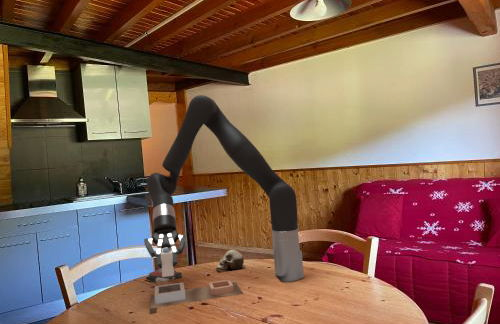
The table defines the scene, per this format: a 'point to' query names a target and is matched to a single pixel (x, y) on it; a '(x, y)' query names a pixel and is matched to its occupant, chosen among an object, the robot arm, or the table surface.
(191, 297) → the panel
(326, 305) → the table surface
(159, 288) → the frame
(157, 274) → the walkie-talkie
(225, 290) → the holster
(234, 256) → the skull
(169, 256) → the plug
